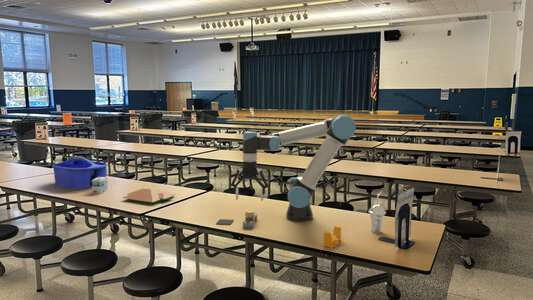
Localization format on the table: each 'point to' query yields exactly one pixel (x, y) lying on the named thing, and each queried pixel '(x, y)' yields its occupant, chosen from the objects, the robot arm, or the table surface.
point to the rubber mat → (224, 222)
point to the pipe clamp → (332, 237)
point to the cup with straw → (377, 216)
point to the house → (149, 195)
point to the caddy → (78, 172)
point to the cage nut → (250, 215)
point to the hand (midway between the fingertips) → (249, 199)
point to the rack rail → (249, 223)
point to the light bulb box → (99, 185)
